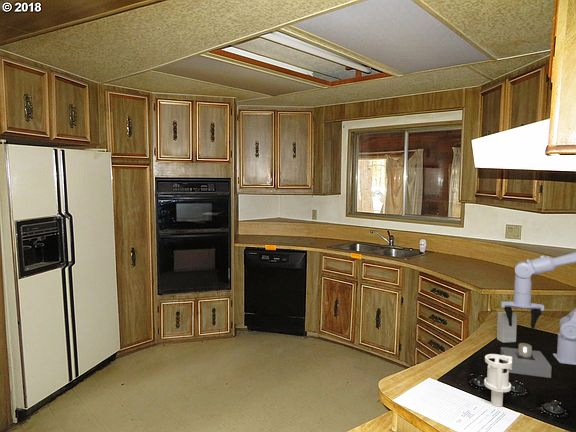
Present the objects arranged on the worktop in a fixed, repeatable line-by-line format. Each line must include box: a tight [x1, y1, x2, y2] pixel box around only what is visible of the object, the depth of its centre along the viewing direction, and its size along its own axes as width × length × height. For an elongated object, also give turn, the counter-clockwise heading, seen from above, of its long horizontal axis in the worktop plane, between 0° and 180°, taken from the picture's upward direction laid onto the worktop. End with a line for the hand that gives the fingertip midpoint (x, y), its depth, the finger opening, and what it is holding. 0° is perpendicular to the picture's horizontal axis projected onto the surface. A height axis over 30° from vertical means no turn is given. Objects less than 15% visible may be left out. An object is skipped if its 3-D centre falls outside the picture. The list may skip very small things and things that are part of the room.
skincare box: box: [496, 311, 518, 343], centre depth 166 cm, size 6×4×12 cm
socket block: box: [500, 346, 552, 379], centre depth 142 cm, size 13×13×4 cm
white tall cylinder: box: [483, 353, 512, 408], centre depth 117 cm, size 7×7×15 cm
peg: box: [517, 342, 533, 360], centre depth 142 cm, size 4×4×7 cm
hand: (521, 326), depth 155 cm, fingers open, 7 cm apart
